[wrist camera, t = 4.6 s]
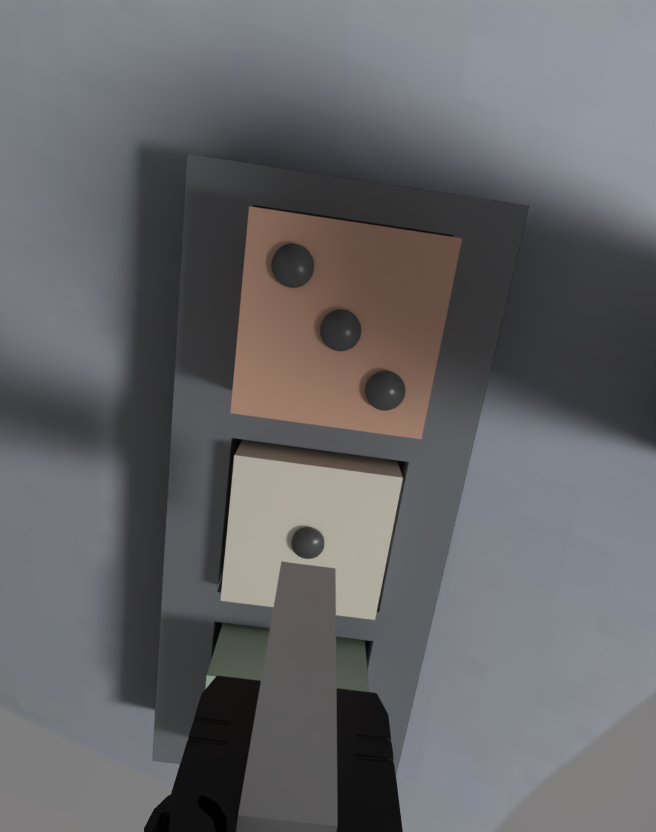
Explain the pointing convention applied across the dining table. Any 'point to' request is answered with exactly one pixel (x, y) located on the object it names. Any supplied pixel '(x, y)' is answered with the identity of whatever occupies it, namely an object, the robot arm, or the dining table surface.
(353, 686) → the button two
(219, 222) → the keypad board
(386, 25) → the dining table surface
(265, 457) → the button one
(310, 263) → the button three
